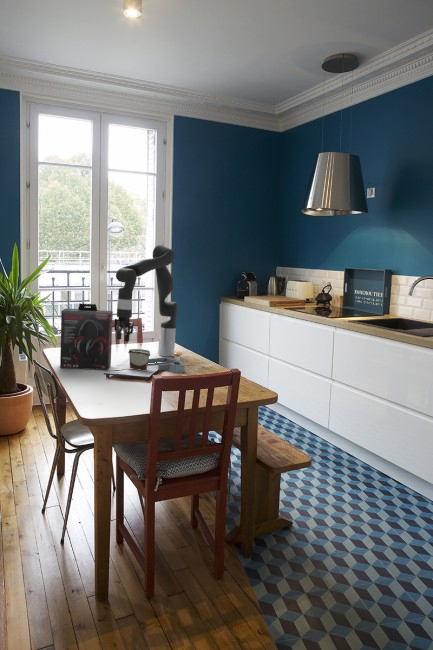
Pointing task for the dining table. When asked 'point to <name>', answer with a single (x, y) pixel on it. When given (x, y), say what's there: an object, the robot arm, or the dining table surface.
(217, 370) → the dining table surface
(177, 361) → the pin
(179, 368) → the frame
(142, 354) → the food container
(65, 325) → the headset box
